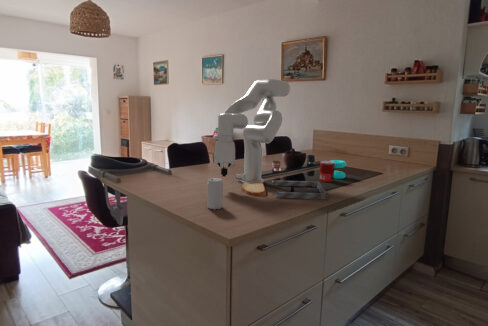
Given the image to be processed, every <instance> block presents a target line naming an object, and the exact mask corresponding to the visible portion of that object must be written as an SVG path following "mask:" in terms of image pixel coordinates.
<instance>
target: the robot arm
mask: <svg viewBox="0 0 488 326" xmlns="http://www.w3.org/2000/svg"><path fill="white" fill-rule="evenodd" d="M290 92H291V85H290V84H289V82H288V81H286V80H281V79H276V78H264V79H262V78H261V79H257V80H255V81H253V83H252V84H251V85H250V87H249V88H248V90H247V91H246V93H245V94H244V95H243V96H242V97H241V98H239V99H237V100H236V101H234V102H233V103H231V104H230V105H229V106H228V107H227V108H226V109H225V111H223V113H222V112H221V113H219V115H218V118H217V120H218V121H217V135H216V136H214V140H217V141H216V142H215V144H214V153H213V154H214V155H213V160H214V161H213V164H214V165H218V167H220V175H221V177H224V178H225V177H227V175H228V169H229V167H231V166H235V165H236V144H235V141H234V129H236V130H242V129H243V130H242V138H243V145H244V154H243V155H244V157H243V158H244V160H243V163H244V165H243V173H240V174H239V173H237V174H236V175H235V178H237V179H241V180H240V182H241V183H242V184H243V183H245V182H246V183H248V184H253V183H256V182H260V181H261V182H262V183H263V184H264V182H265V179H263V178H262V163H263V162H262V161H263V160H262V159H263V158H262V157H263V150H262V146H261V144H270V143H271V142H272V141H273V140H274V139H275V137H276V135H277V134H278V132H279V130H280V128H281V126H282V124H283V114H282V113H281V111H279V110H277V104H276V101H275V99H274V98H275V97H276V98H278V97H279V98H280V97H282V98H285V97H286V96H288V95H289V94H290ZM261 101H262V102H261ZM260 102H261V104H260ZM259 104H260V106H259V108H258V109H257V111H256V113H255V115H254V118H253V123H254V124H253V123H252V124H249V119H248V117H247V116H246V115H245V114H244V113H245V112H248V111H251V110H253V109H256V108H257V106H258V105H259ZM224 164H225V166H224Z"/></svg>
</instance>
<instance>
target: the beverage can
mask: <svg viewBox="0 0 488 326" xmlns="http://www.w3.org/2000/svg"><path fill="white" fill-rule="evenodd" d="M223 193H224V182H223V179H222V178H219V177H212V178H208V179H207V182H206V200H207V201H206V207H207V208H208V210H212V209H213V211H215V210H216V209H217V210H221V209H222V208H223V206H224V205H223V204H224V203H223V200H224V199H223V195H224V194H223Z"/></svg>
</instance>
